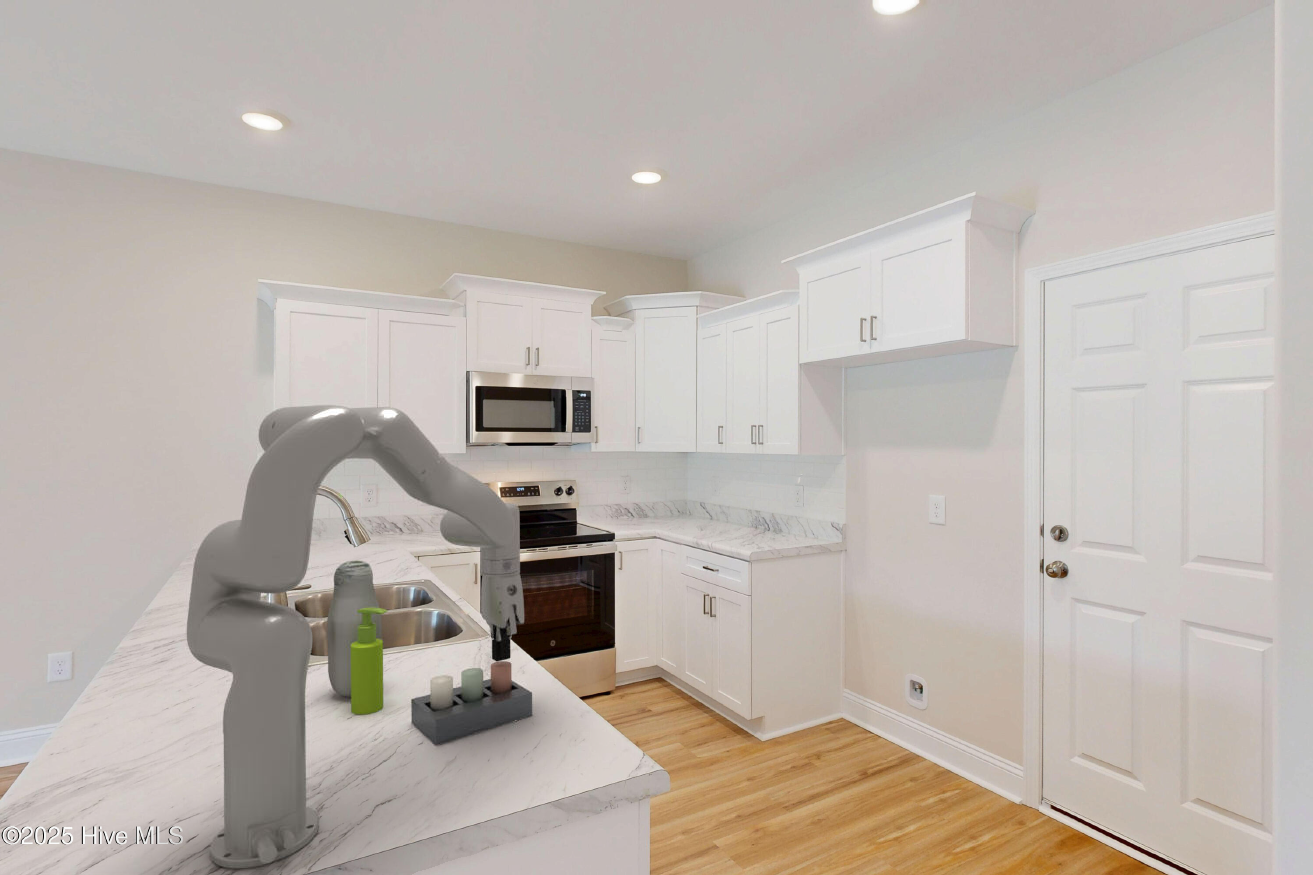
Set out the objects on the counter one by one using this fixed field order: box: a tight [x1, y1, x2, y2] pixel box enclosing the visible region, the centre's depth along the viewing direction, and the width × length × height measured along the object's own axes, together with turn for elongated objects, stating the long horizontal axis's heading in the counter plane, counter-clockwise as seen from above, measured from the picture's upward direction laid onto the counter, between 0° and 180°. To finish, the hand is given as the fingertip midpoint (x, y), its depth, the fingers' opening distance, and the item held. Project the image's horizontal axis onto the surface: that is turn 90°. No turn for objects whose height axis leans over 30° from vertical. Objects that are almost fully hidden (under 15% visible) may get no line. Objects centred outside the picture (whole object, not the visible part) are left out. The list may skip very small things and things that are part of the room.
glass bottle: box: [326, 560, 383, 698], centre depth 140 cm, size 10×10×28 cm
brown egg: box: [490, 660, 513, 694], centre depth 131 cm, size 4×4×5 cm
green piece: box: [460, 667, 484, 702], centre depth 127 cm, size 4×4×5 cm
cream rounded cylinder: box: [429, 674, 454, 711], centre depth 124 cm, size 4×4×5 cm
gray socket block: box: [410, 678, 533, 746], centre depth 127 cm, size 12×19×4 cm, turn 130°
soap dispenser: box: [350, 607, 388, 716], centre depth 133 cm, size 6×7×20 cm
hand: (501, 658), depth 131 cm, fingers closed
